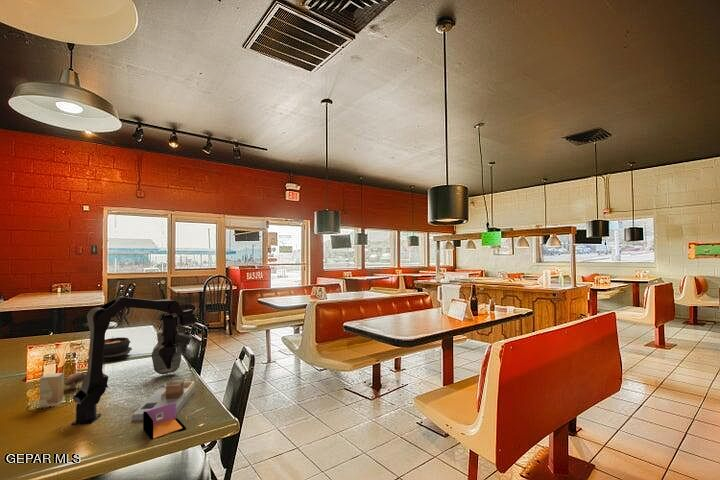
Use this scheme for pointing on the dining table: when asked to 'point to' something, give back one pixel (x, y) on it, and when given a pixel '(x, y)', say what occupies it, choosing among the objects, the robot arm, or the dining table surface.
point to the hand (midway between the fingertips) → (170, 365)
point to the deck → (165, 400)
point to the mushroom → (74, 380)
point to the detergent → (158, 361)
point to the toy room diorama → (161, 421)
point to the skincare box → (51, 389)
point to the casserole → (116, 347)
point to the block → (174, 389)
